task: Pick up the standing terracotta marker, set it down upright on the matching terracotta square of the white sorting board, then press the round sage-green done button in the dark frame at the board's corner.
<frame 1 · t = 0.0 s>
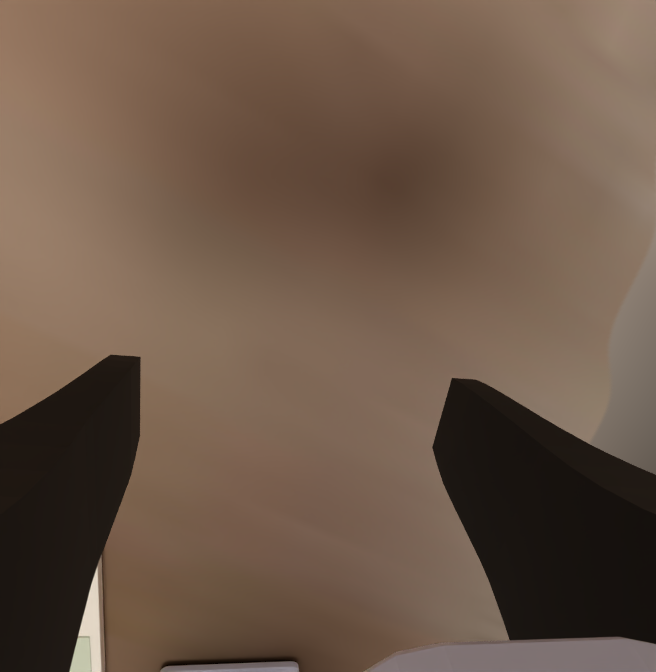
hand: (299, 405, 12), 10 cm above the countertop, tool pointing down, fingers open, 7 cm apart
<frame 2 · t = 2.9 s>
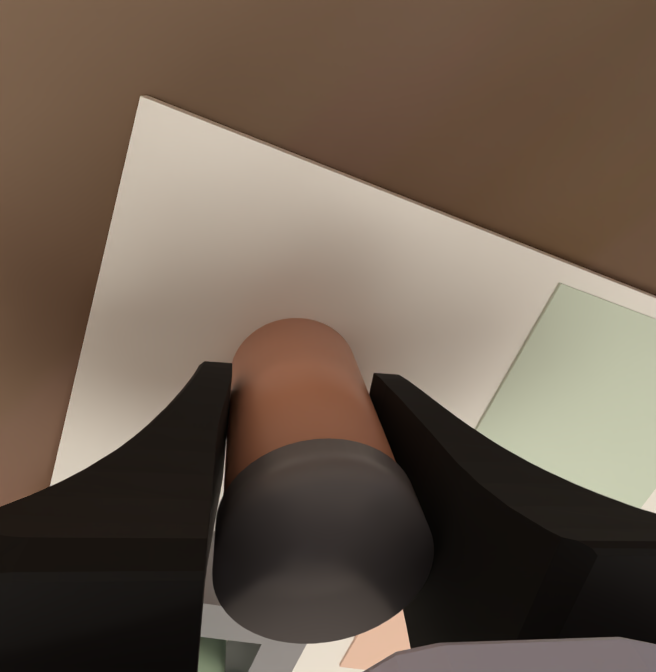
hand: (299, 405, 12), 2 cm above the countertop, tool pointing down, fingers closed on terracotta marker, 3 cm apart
terracotta marker: (294, 375, 13), point 1 cm above the countertop, touching gripper, white sorting board
white sorting board: (396, 507, 17), on the countertop
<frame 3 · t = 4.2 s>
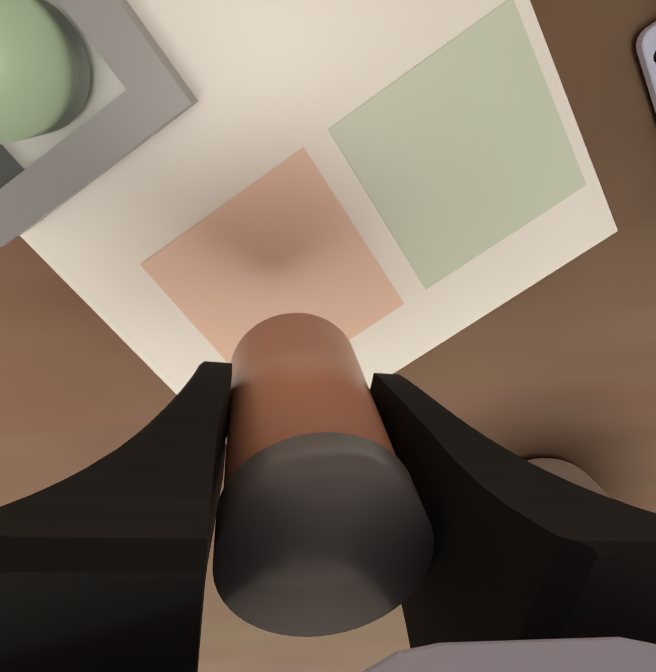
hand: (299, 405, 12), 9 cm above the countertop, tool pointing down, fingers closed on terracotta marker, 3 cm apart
terracotta marker: (294, 370, 13), point 8 cm above the countertop, touching gripper
white sorting board: (281, 140, 18), on the countertop
coffee cup: (522, 506, 28), on the countertop
when the fingers open (3 cm above the countertop, at t = 5.6 s): terracotta marker stays where it is, resting on white sorting board.
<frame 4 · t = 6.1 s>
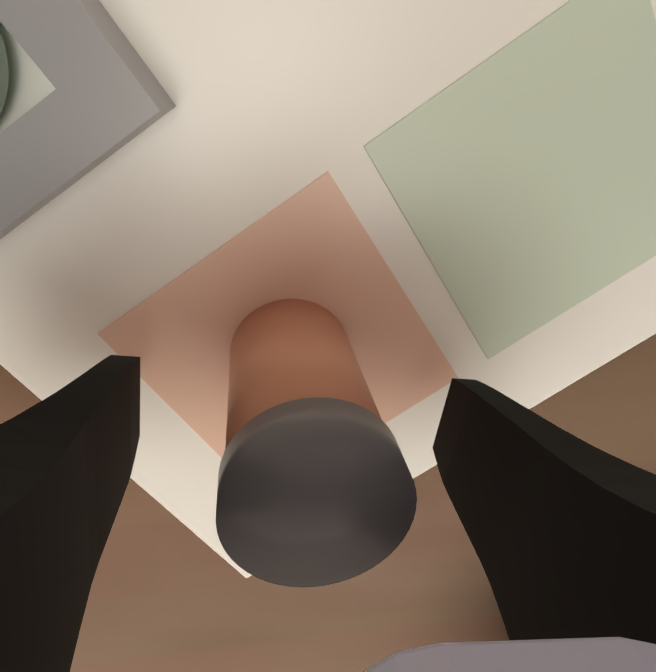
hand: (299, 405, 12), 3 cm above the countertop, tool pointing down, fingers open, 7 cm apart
terracotta marker: (290, 354, 14), point 1 cm above the countertop, touching white sorting board
white sorting board: (295, 160, 13), on the countertop
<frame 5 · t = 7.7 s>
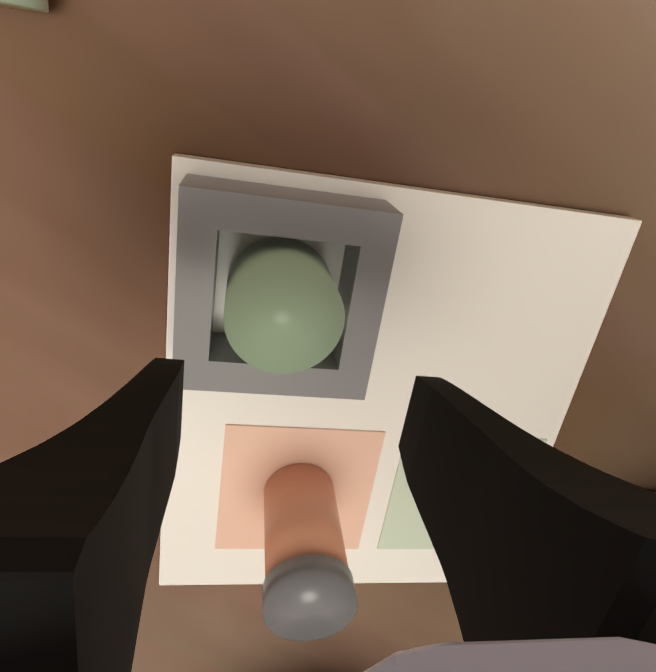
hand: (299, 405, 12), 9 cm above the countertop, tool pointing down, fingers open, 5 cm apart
terracotta marker: (298, 491, 24), point 1 cm above the countertop, touching white sorting board
white sorting board: (372, 411, 24), on the countertop
done button: (282, 303, 18), point 3 cm above the countertop, slide at 0.0 cm
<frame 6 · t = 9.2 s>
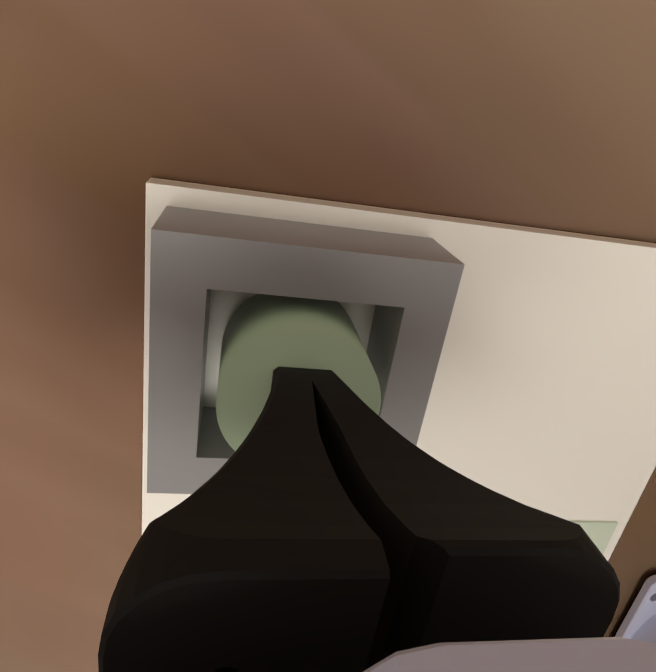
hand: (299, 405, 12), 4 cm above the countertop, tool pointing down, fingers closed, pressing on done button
white sorting board: (403, 491, 19), on the countertop
done button: (294, 375, 13), point 3 cm above the countertop, slide at 0.3 cm, touching gripper
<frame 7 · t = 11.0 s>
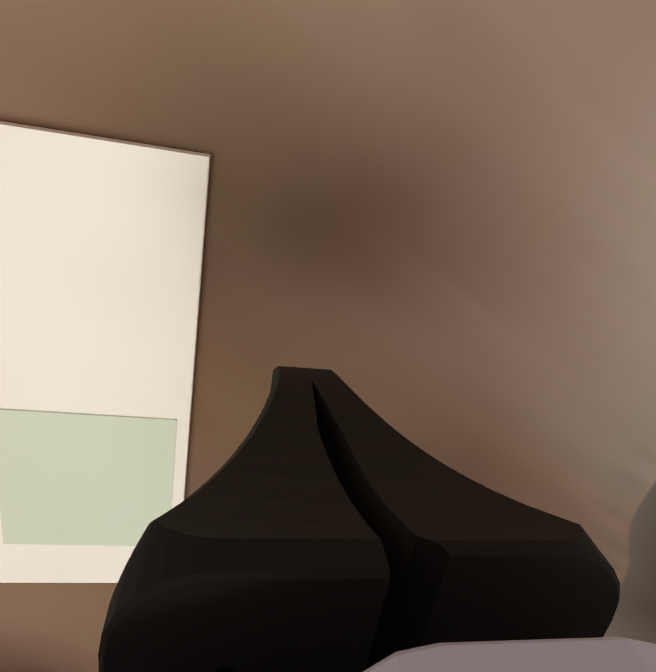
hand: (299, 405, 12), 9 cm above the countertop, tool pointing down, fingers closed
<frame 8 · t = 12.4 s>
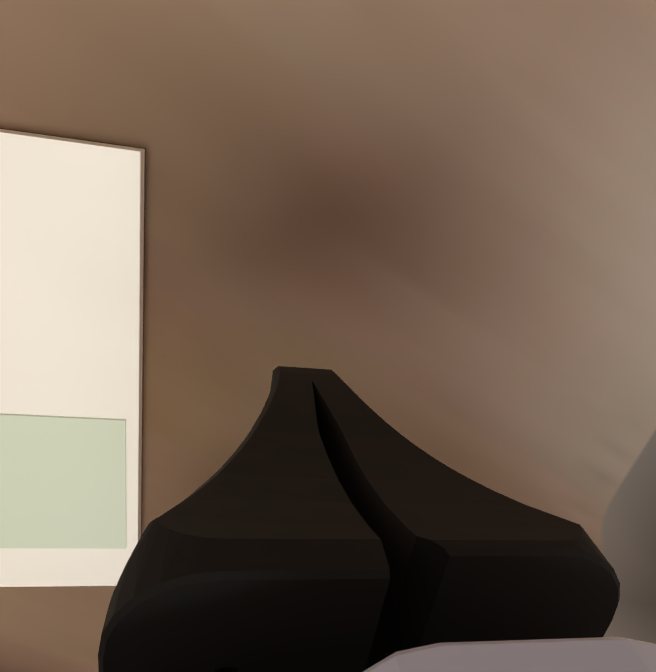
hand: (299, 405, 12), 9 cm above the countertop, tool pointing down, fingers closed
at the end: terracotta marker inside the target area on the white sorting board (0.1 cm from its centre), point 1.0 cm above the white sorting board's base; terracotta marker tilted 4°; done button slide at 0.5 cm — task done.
